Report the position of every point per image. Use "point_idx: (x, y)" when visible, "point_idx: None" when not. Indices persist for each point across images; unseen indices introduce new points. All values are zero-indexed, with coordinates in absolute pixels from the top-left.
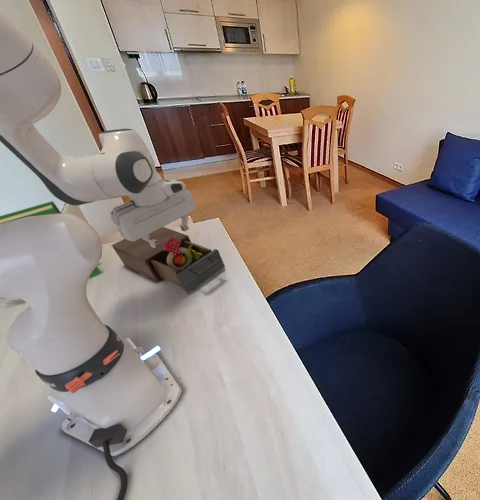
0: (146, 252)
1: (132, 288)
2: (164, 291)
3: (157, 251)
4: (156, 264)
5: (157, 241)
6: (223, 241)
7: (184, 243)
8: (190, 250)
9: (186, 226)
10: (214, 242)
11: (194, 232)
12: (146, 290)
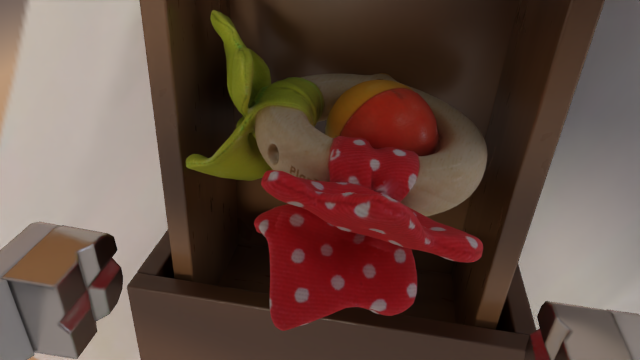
0: None
1: (584, 303)
2: (575, 96)
3: (401, 348)
4: (518, 252)
5: (570, 355)
6: (19, 135)
7: (200, 264)
8: (250, 112)
9: (20, 255)
10: (62, 184)
11: (84, 350)
12: (586, 217)
